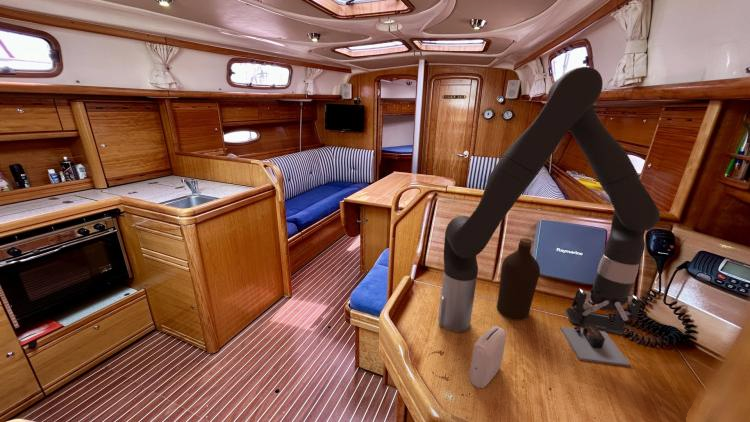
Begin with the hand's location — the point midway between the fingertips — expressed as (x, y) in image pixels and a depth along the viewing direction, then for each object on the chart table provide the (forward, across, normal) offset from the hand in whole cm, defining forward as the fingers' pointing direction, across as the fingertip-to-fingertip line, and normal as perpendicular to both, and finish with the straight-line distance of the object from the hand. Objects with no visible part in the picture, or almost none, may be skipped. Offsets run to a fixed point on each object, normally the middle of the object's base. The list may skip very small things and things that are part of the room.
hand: (598, 326), depth 81 cm
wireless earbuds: (+6, 0, -2) cm, 7 cm away
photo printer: (+7, +30, +15) cm, 35 cm away
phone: (+7, -6, -11) cm, 15 cm away
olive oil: (+7, +18, -12) cm, 23 cm away
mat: (+7, 0, 0) cm, 7 cm away
